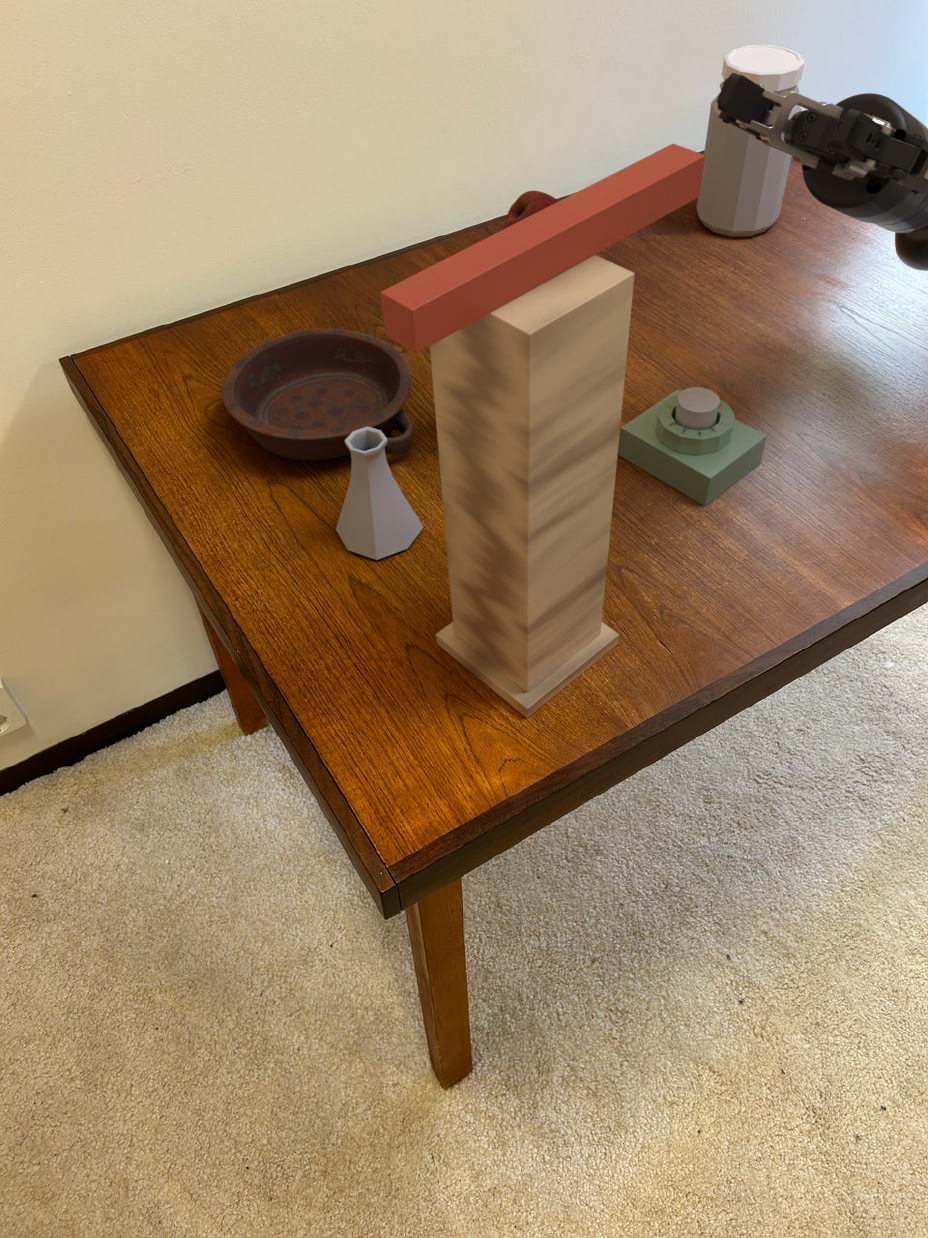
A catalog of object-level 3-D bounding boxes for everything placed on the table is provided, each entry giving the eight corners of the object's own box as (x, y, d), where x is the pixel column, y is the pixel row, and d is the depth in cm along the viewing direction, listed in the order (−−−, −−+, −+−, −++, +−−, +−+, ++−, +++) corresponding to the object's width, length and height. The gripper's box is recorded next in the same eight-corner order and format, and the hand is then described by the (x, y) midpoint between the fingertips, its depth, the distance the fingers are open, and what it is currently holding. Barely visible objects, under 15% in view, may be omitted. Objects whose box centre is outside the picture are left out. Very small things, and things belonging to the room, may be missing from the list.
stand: (618, 644, 74) (662, 271, 51) (527, 718, 70) (529, 350, 47) (526, 577, 79) (528, 211, 56) (436, 643, 75) (397, 277, 52)
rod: (700, 196, 56) (706, 154, 54) (416, 354, 47) (411, 310, 45) (668, 183, 58) (672, 142, 56) (384, 335, 48) (379, 291, 46)
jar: (678, 221, 117) (698, 59, 104) (727, 193, 121) (754, 34, 108) (744, 249, 112) (775, 83, 99) (794, 219, 116) (830, 55, 103)
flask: (383, 491, 87) (370, 400, 80) (438, 529, 84) (430, 437, 76) (321, 532, 84) (301, 441, 77) (375, 573, 81) (360, 481, 73)
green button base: (760, 463, 87) (771, 418, 84) (705, 506, 84) (713, 461, 80) (673, 416, 92) (680, 372, 89) (618, 455, 89) (622, 410, 85)
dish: (346, 514, 85) (338, 471, 82) (181, 427, 95) (167, 384, 91) (467, 414, 94) (464, 371, 90) (305, 343, 104) (296, 301, 100)
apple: (504, 245, 115) (503, 178, 109) (570, 244, 115) (572, 177, 109) (504, 278, 110) (503, 210, 104) (572, 276, 110) (575, 208, 104)
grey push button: (724, 418, 85) (728, 398, 83) (698, 436, 83) (702, 417, 82) (692, 400, 86) (695, 381, 85) (666, 418, 85) (668, 399, 83)
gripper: (935, 247, 69) (854, 208, 57) (770, 186, 77) (667, 139, 65) (995, 137, 66) (922, 71, 54) (816, 84, 73) (717, 15, 61)
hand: (783, 108), depth 59 cm, fingers open, 8 cm apart
